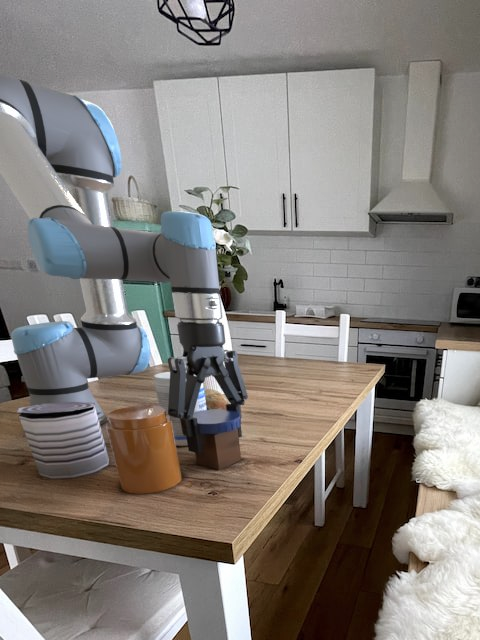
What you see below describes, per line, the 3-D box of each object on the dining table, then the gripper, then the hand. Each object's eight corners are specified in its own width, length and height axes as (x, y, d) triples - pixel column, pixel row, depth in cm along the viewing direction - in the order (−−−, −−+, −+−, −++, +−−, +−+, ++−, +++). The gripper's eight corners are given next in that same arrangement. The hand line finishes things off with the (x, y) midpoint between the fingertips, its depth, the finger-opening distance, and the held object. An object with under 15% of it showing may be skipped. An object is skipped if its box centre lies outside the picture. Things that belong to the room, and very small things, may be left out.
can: (21, 476, 70) (-3, 410, 65) (72, 453, 80) (54, 395, 75) (80, 481, 69) (59, 414, 64) (123, 457, 79) (109, 398, 74)
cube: (196, 463, 77) (191, 429, 74) (219, 454, 82) (215, 421, 79) (219, 470, 75) (214, 435, 72) (241, 459, 80) (237, 426, 77)
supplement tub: (215, 442, 88) (206, 376, 82) (170, 450, 83) (157, 380, 77) (204, 431, 96) (195, 369, 89) (162, 437, 91) (149, 372, 84)
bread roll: (193, 428, 108) (187, 405, 102) (193, 404, 114) (188, 381, 108) (230, 426, 111) (227, 403, 105) (229, 402, 117) (226, 380, 111)
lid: (251, 425, 76) (251, 415, 76) (206, 437, 69) (205, 427, 68) (221, 415, 82) (220, 406, 81) (176, 426, 75) (174, 416, 74)
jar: (111, 482, 69) (92, 412, 64) (164, 466, 76) (151, 401, 70) (137, 499, 64) (119, 424, 58) (192, 480, 71) (180, 411, 65)
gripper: (157, 325, 57) (183, 466, 66) (260, 319, 75) (268, 431, 85) (124, 322, 60) (153, 457, 70) (231, 317, 78) (242, 425, 88)
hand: (216, 443), depth 77 cm, fingers closed on lid, 10 cm apart
